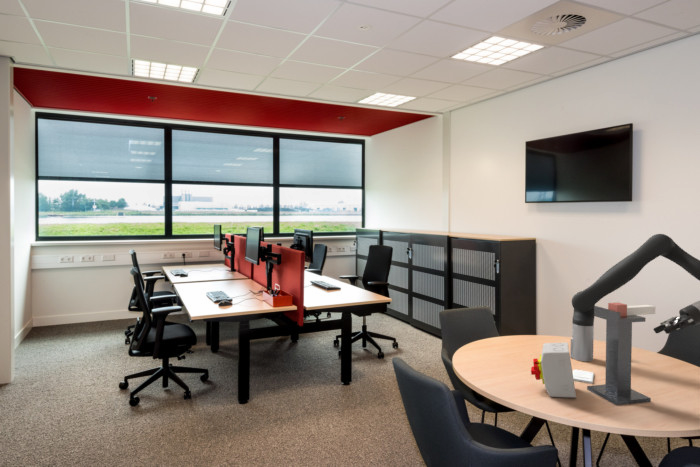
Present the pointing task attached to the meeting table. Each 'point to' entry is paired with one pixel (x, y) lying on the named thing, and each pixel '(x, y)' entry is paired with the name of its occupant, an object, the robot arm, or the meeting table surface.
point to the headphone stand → (618, 359)
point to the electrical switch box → (555, 370)
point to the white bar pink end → (631, 309)
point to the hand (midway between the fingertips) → (659, 331)
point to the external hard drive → (583, 376)
